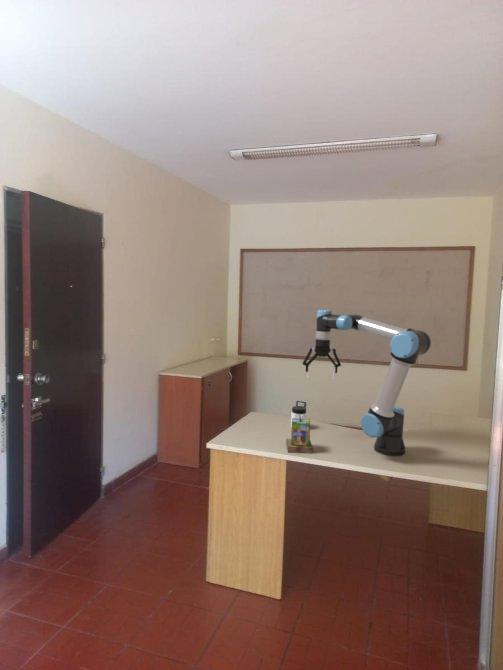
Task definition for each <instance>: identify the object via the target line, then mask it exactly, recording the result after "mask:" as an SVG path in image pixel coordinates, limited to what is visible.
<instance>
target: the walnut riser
mask: <svg viewBox="0 0 503 670" xmlns="http://www.w3.org/2000/svg"><path fill="white" fill-rule="evenodd" d="M285 445H286V449H287V453H292V454H313V452H314V450H313V449H314V447H313V444H312V441H311V440H310V446H298V445H291V438H286V442H285Z"/></svg>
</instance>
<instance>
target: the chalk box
mask: <svg viewBox="0 0 503 670" xmlns="http://www.w3.org/2000/svg"><path fill="white" fill-rule="evenodd" d="M299 417H300V413H299ZM290 439H291V445H298V446H310V441H311V421H310V419H309V418H308V419H301V417H300V418H299V419H296V418H292V428H291V437H290Z"/></svg>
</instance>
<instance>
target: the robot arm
mask: <svg viewBox="0 0 503 670" xmlns="http://www.w3.org/2000/svg"><path fill="white" fill-rule="evenodd" d="M331 330H338V331H349V330H355V331H358V332H362V333H364V334H368V335H372V336H375V337H378V338H381V339H384V340H387V341H390V344H389V346H390V347H389V348H390V350H391V352H390V354H389V357H390V358H391V362H390V363H389V366H388V369H387V372H386V374H385V376H384V379H383V382H382V385H381V387H380V390H379V392H378V394H377V397H376V400H375V402H374V403H372V404H371V405H370V406H369V409H368V411H367V413H365V414H363V415H362V417H361V418H360V427H361V429H362V431H363V433H364V434H365V435H366V436H368V437H370V438H372V439H373V438H376V439H375V442H374V446H373V448H374V451H375V452H377V453H379V454H382V455H387V456H393V457H398V456H402V455H405V454H406V446H405V442H404V437H403V435H404V425H405V424H404V421H405V410H404V408H403V407H400V406H397V405H396V403H397V400H398V398H399V396H400V392H401V391H402V388H403V385H404V383H405V380H406V378H407V375H408V373H409V371H410V368H411V366H415V365H416V363H417V362H418V361H417V360H418V358H419V356H421V355H424V354H426V353H428V351H429V350H430V348H431V346H432V340H431V337H430V336H429V334H428V333H427V332H425V331H423V330H417V329H414V328H411V327H408V328H404V327H400V326H395V325H392V324H389V323H384V322H382V321H378V320H375V319H372V318H368V317H365V316H363V315H361V314H357V313H355V314H333V313H332V310H329V309H319V310H317V312H316V330H315V338H316V339H315V347H314V348H313V347H309V349H308V351H307V354H306V356H305V358H304V359H303V361H302V365H303V366H305V372H306V375H307V376H306V378H307V379H310V372H311V371H310V370H311V367H310V365H311V363H312V362H313V361H315V359H317V358H318V357H320V358H321V357H324V358H326V357H327V358H328V359H329V360H330V363H332V364H333V367H332V379H333V380H336V374H337V373H338V368H339V367H341V366H342V364H341V361H340V360H339V357H338V355H337V353H336V352H337V349H336V348H334V347H333V348H331V347H330V345H331V340H330V339H331ZM314 352H315V353H314ZM330 352H331V353H332V354H333V357H334V358H335V360H334V359H333V358H332V357H331V355H330V354H329V353H330ZM312 353H314V354H313V356H312V357H311V358H310V356H311V355H312Z"/></svg>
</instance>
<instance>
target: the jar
mask: <svg viewBox="0 0 503 670" xmlns="http://www.w3.org/2000/svg"><path fill="white" fill-rule="evenodd" d="M290 412H291V413H290V414H291V415H290V428H291V429H292V418H296V419H299V418H300V417H301V419H307V418H308V417H307V416H308V413H307V407H305V406H300V405H296V406H295V405H294V406H292V407H291V411H290ZM299 413H300V417H299Z"/></svg>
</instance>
